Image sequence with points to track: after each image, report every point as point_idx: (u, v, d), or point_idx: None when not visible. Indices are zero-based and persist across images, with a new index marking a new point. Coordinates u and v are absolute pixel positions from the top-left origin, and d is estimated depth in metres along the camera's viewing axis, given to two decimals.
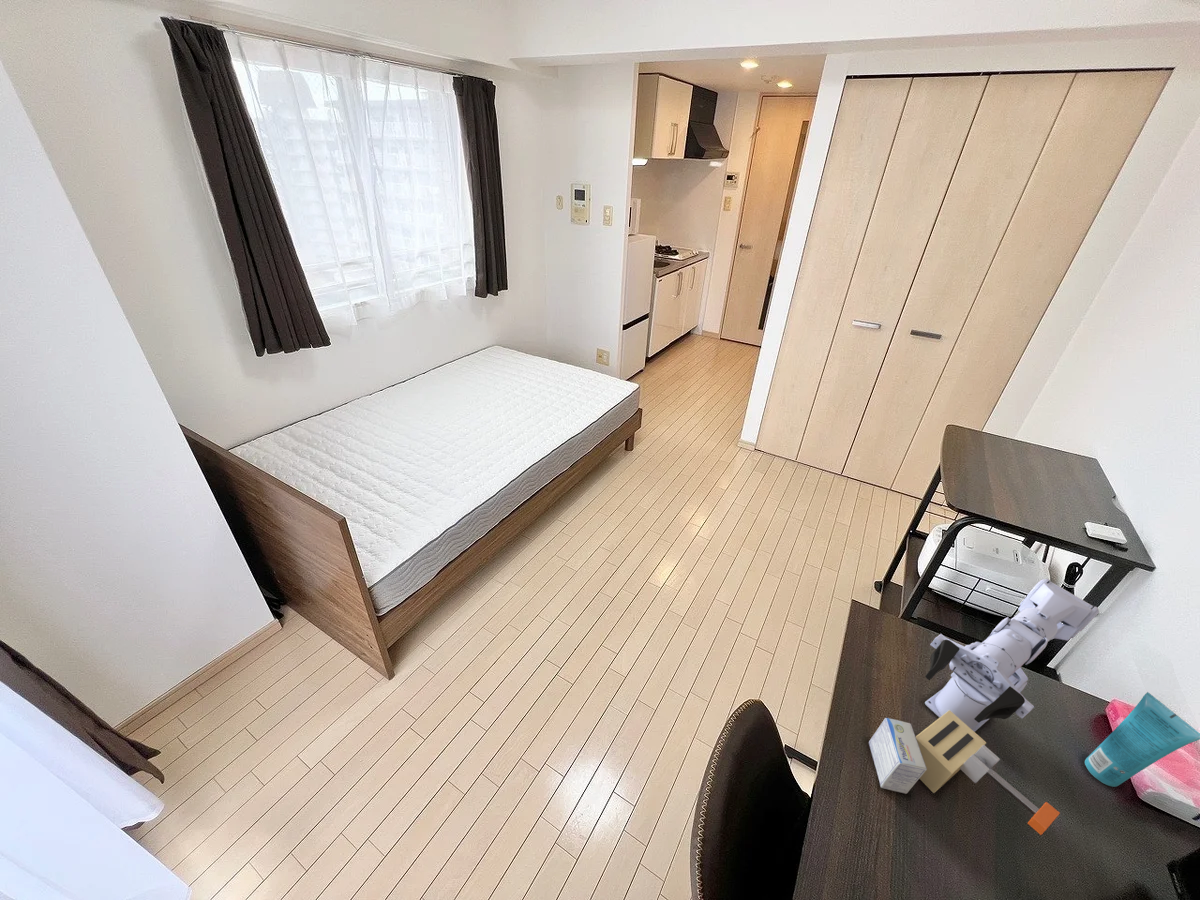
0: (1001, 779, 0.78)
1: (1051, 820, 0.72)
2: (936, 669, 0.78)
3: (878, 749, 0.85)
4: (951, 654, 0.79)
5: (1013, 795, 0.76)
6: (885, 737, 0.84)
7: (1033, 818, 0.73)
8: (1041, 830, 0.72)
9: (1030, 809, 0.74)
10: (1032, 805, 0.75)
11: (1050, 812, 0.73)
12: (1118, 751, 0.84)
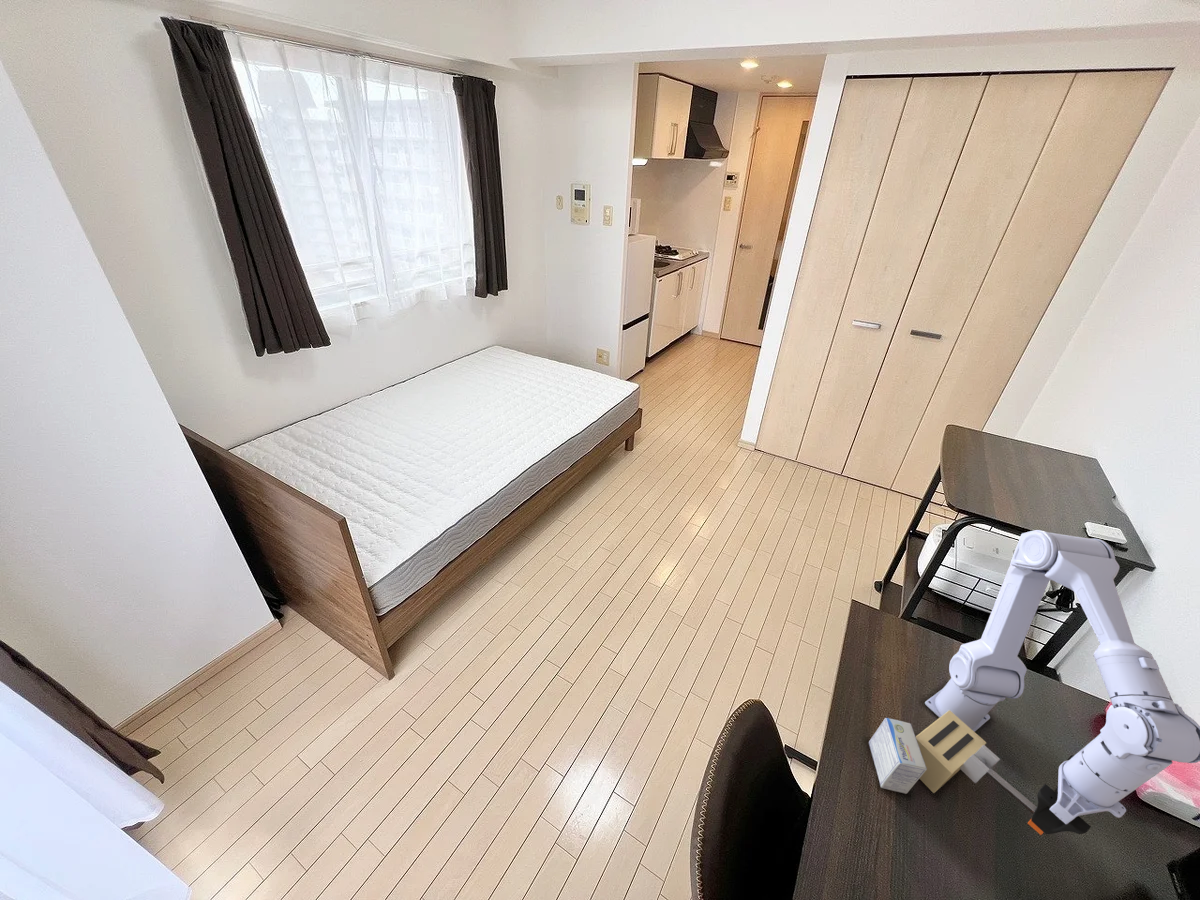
0: (1001, 779, 0.78)
1: None
2: None
3: (878, 749, 0.85)
4: None
5: (1013, 795, 0.76)
6: (885, 737, 0.84)
7: None
8: (1041, 830, 0.72)
9: (1030, 809, 0.74)
10: (1032, 805, 0.75)
11: None
12: None
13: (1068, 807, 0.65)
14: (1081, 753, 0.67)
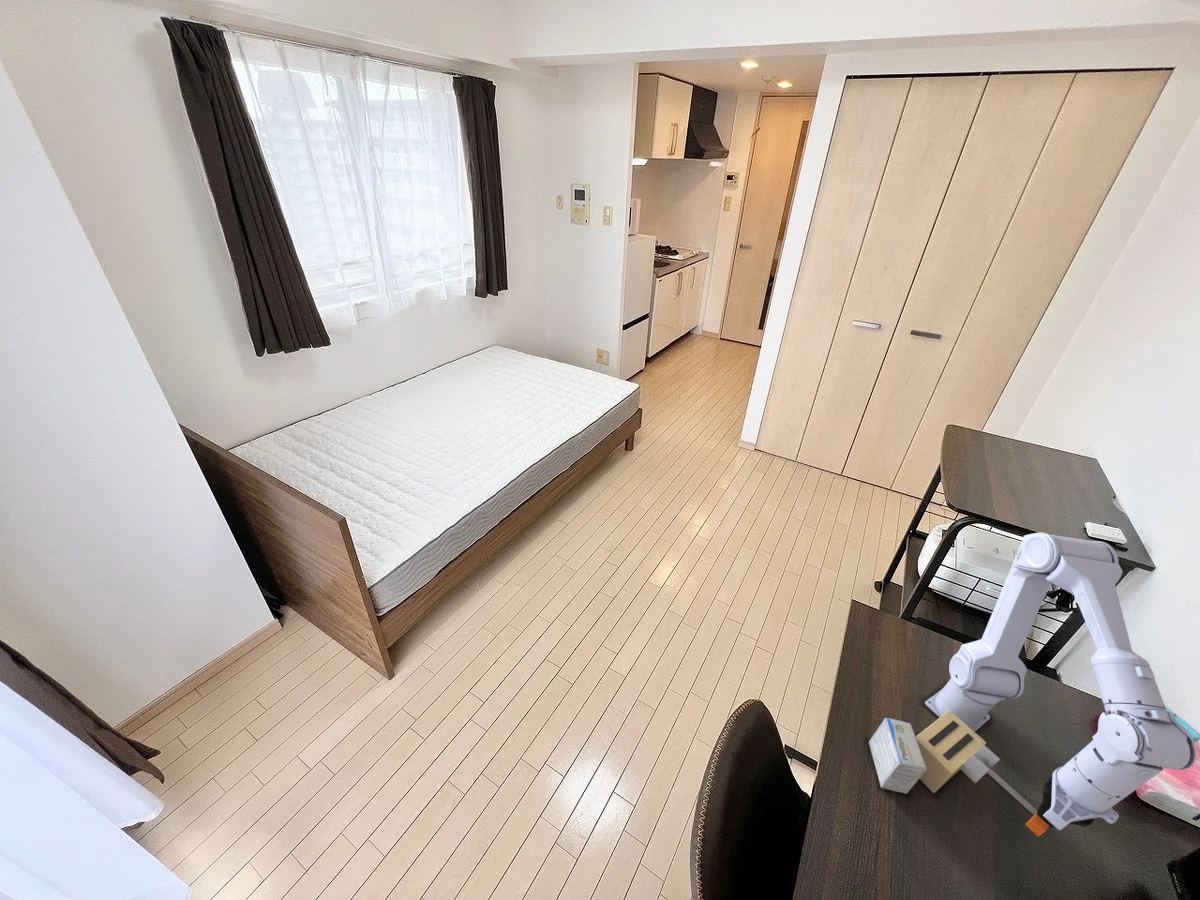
0: (1001, 780, 0.78)
1: None
2: None
3: (878, 750, 0.85)
4: None
5: (1012, 796, 0.76)
6: (885, 737, 0.84)
7: (1032, 820, 0.73)
8: (1039, 832, 0.72)
9: (1029, 811, 0.74)
10: (1031, 807, 0.75)
11: None
12: None
13: (1061, 813, 0.65)
14: (1074, 760, 0.67)
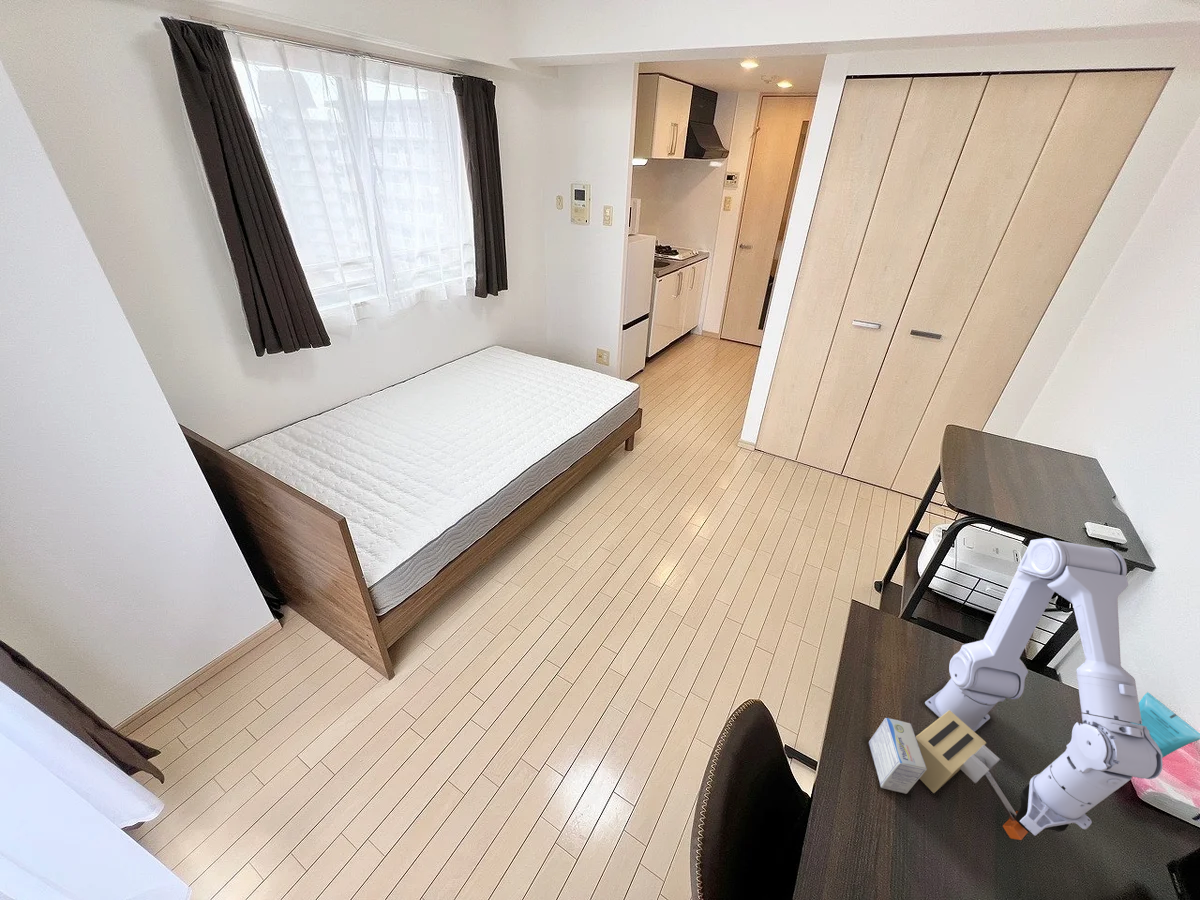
0: (995, 783, 0.79)
1: (1027, 831, 0.76)
2: None
3: (878, 749, 0.85)
4: None
5: (1000, 800, 0.78)
6: (885, 737, 0.84)
7: (1013, 828, 0.75)
8: (1014, 837, 0.75)
9: (1010, 816, 0.77)
10: (1013, 812, 0.77)
11: None
12: None
13: (1037, 819, 0.68)
14: (1050, 768, 0.70)
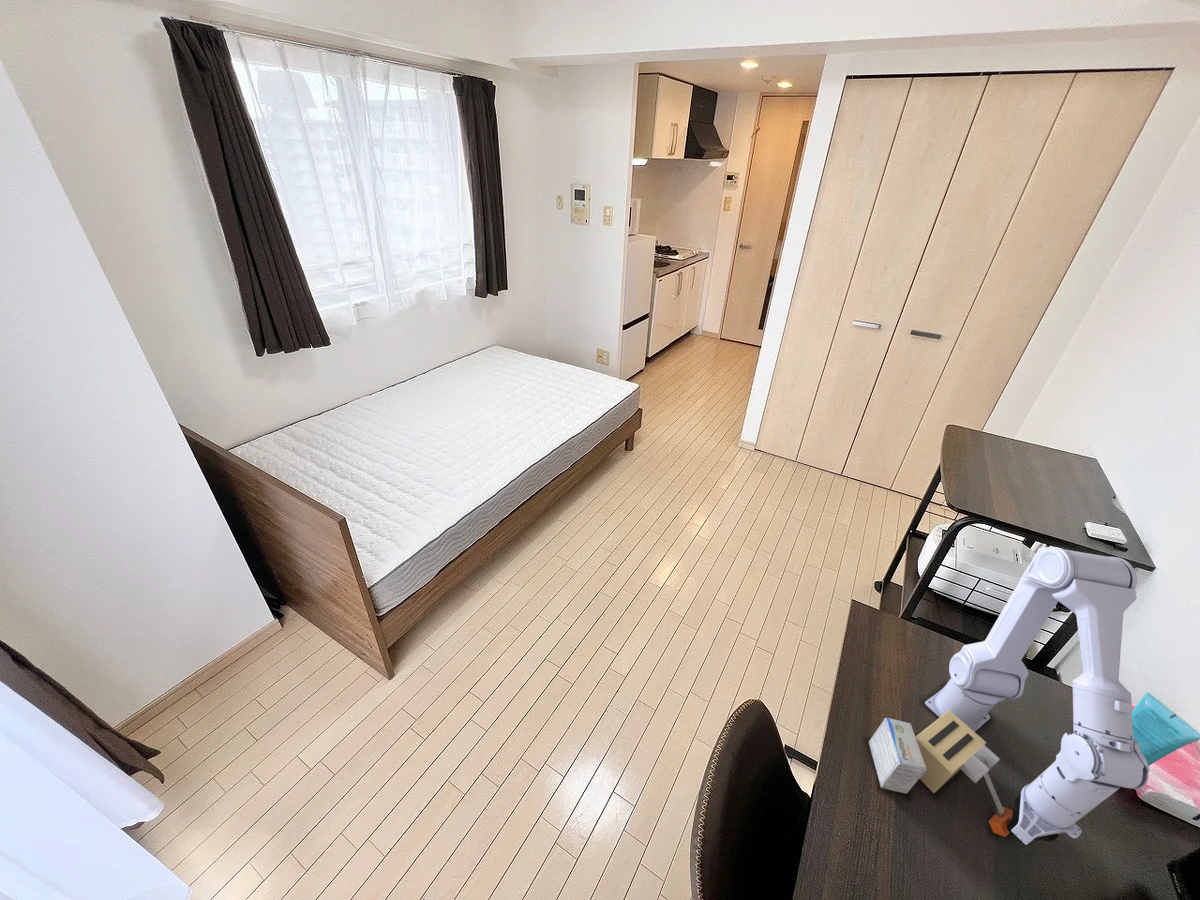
0: (990, 783, 0.79)
1: None
2: None
3: (878, 749, 0.85)
4: None
5: (992, 798, 0.79)
6: (885, 737, 0.84)
7: (1000, 826, 0.77)
8: (998, 833, 0.77)
9: (998, 813, 0.79)
10: (1002, 810, 0.79)
11: None
12: None
13: (1028, 829, 0.69)
14: (1040, 777, 0.72)
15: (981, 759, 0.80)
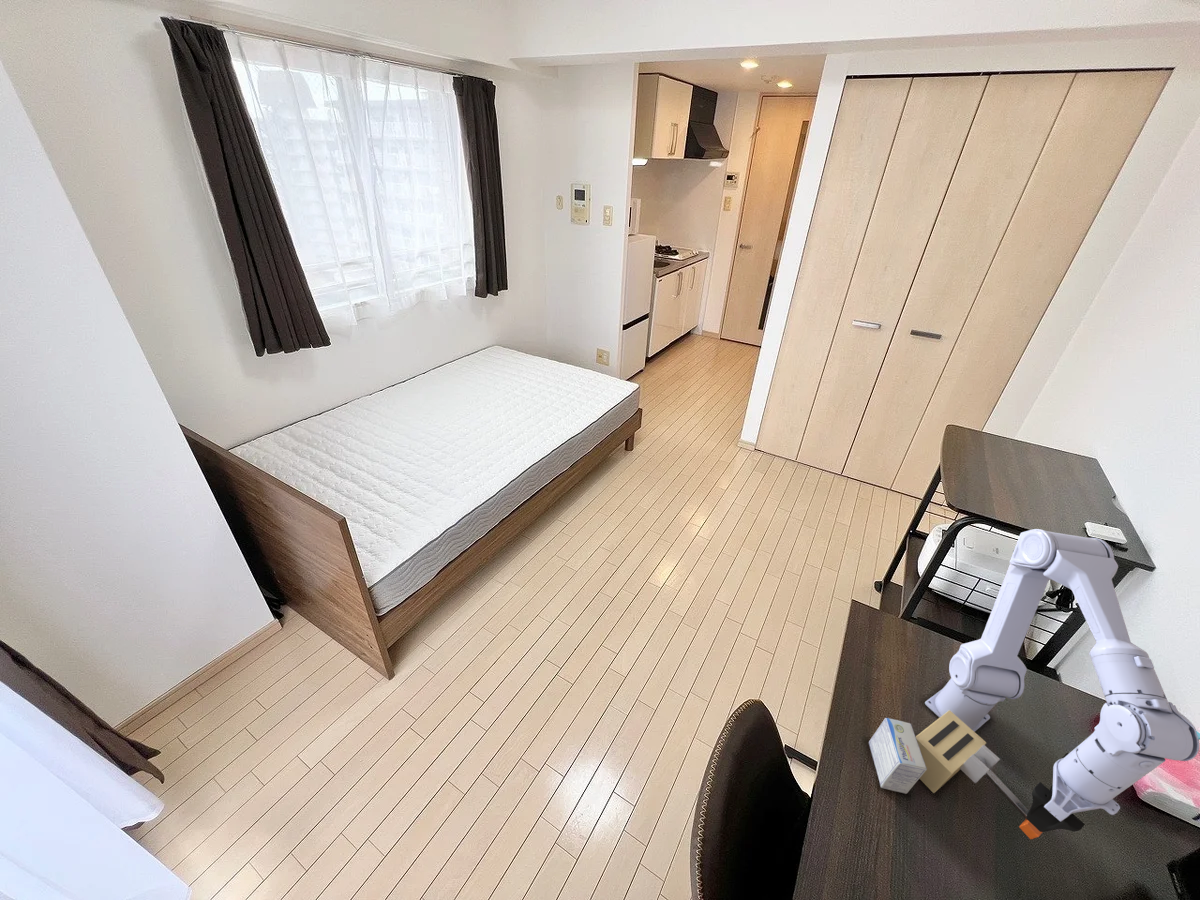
0: (999, 781, 0.78)
1: None
2: None
3: (878, 749, 0.85)
4: None
5: (1009, 798, 0.77)
6: (885, 737, 0.84)
7: (1027, 824, 0.73)
8: (1032, 836, 0.73)
9: (1024, 814, 0.75)
10: (1026, 810, 0.75)
11: None
12: None
13: (1062, 804, 0.65)
14: (1075, 751, 0.67)
15: (979, 758, 0.81)
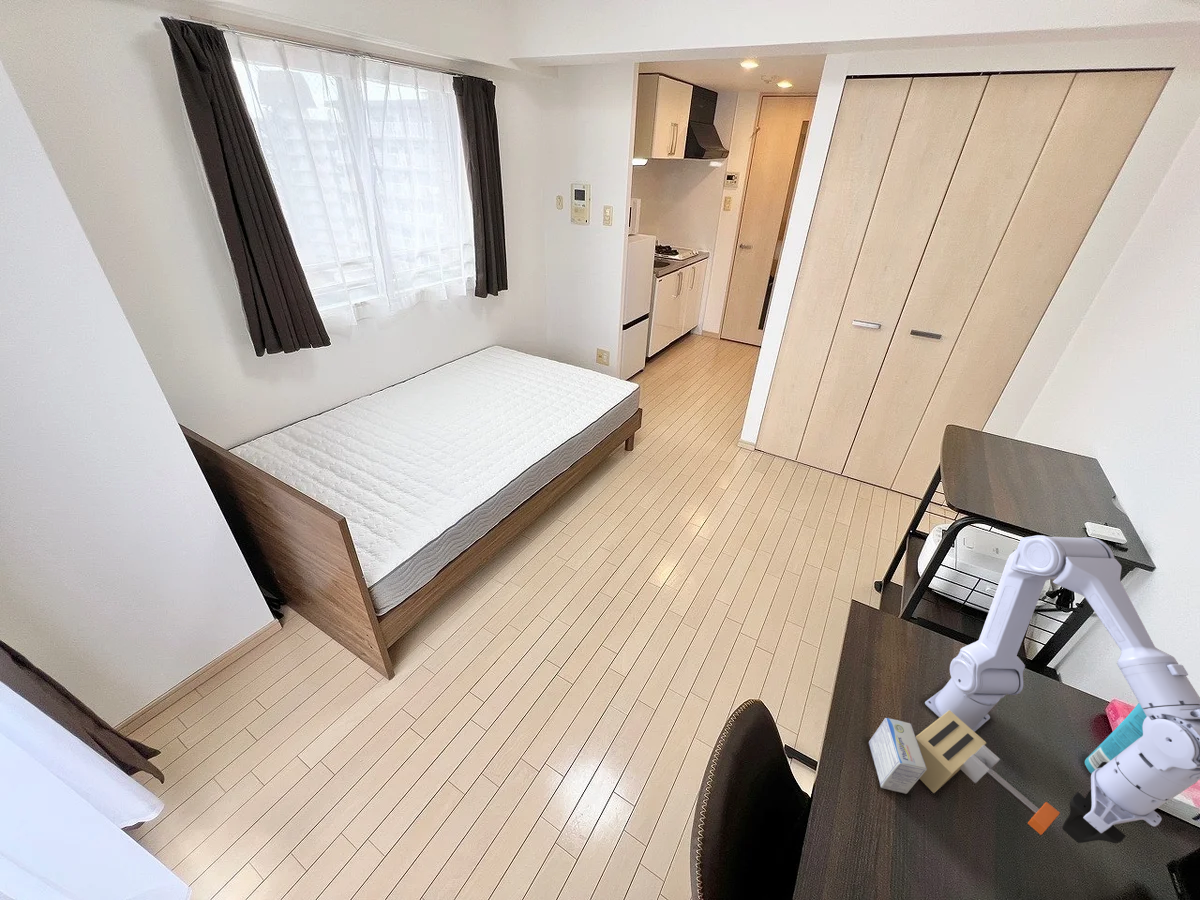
0: (1001, 779, 0.78)
1: (1051, 820, 0.72)
2: None
3: (878, 750, 0.85)
4: None
5: (1013, 795, 0.76)
6: (885, 737, 0.84)
7: (1033, 818, 0.73)
8: (1041, 830, 0.72)
9: (1030, 809, 0.74)
10: (1032, 805, 0.75)
11: (1050, 812, 0.73)
12: (1118, 751, 0.84)
13: (1103, 816, 0.64)
14: (1115, 761, 0.66)
15: (978, 758, 0.81)
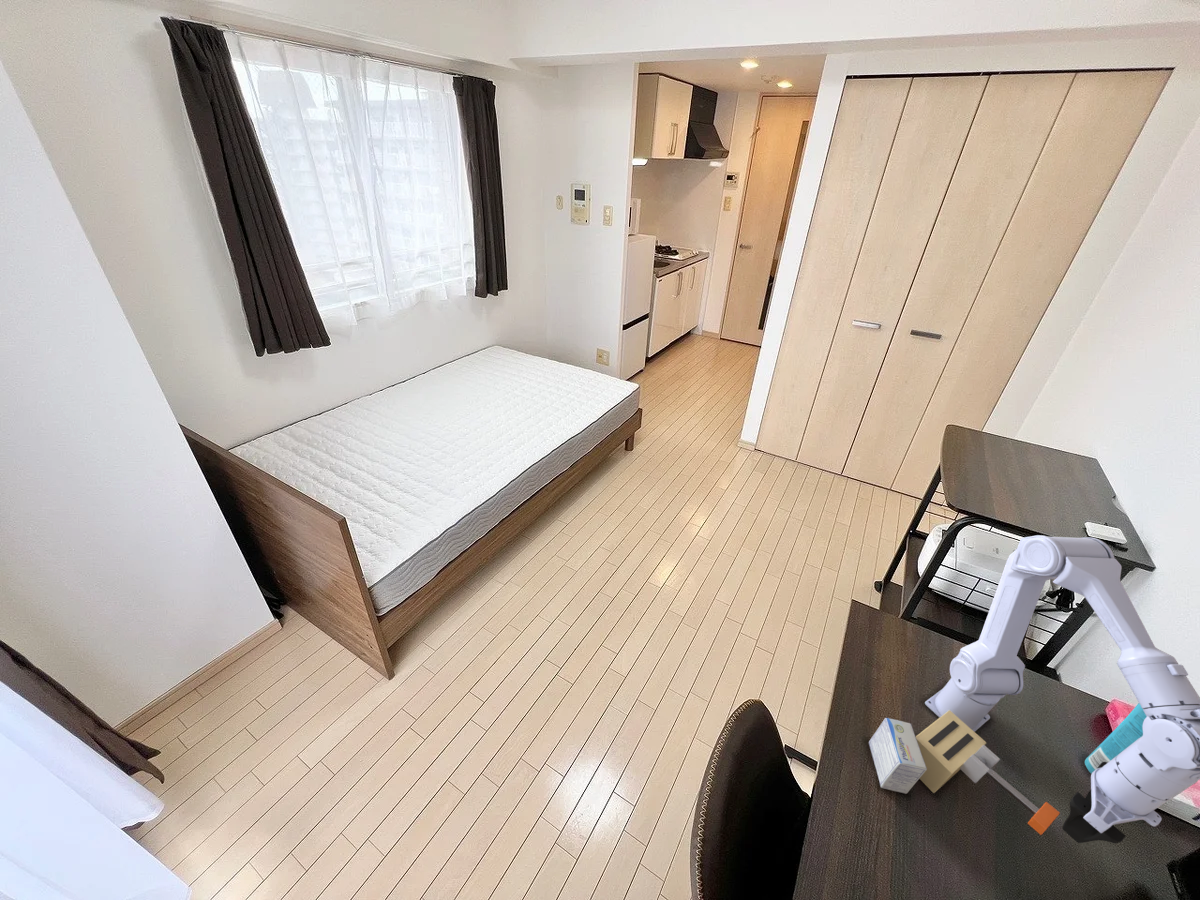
0: (1001, 779, 0.78)
1: (1051, 820, 0.72)
2: None
3: (878, 750, 0.85)
4: None
5: (1013, 795, 0.76)
6: (885, 737, 0.84)
7: (1033, 818, 0.73)
8: (1041, 830, 0.72)
9: (1030, 809, 0.74)
10: (1032, 805, 0.75)
11: (1050, 812, 0.73)
12: (1118, 751, 0.84)
13: (1103, 816, 0.64)
14: (1115, 761, 0.66)
15: (978, 758, 0.81)
